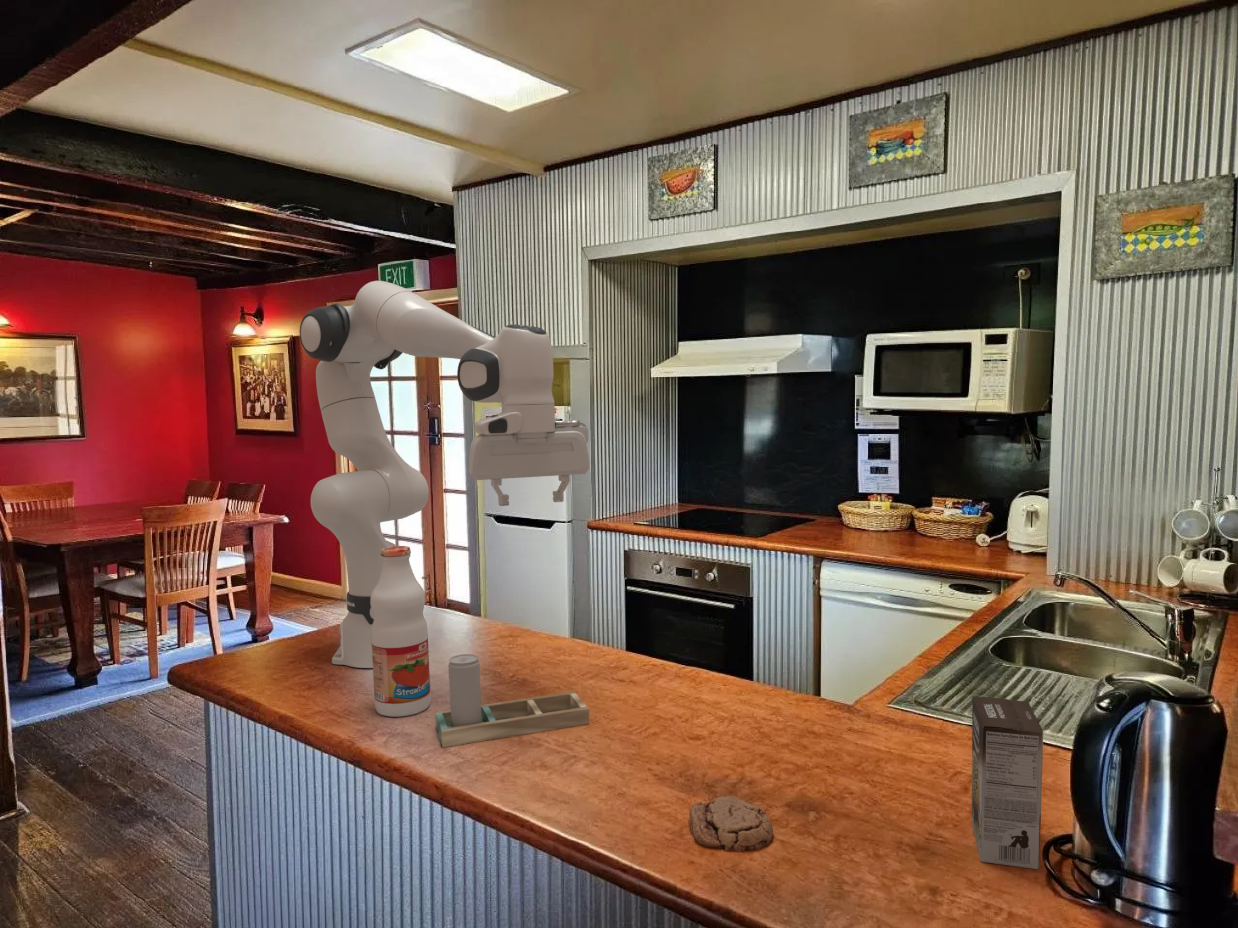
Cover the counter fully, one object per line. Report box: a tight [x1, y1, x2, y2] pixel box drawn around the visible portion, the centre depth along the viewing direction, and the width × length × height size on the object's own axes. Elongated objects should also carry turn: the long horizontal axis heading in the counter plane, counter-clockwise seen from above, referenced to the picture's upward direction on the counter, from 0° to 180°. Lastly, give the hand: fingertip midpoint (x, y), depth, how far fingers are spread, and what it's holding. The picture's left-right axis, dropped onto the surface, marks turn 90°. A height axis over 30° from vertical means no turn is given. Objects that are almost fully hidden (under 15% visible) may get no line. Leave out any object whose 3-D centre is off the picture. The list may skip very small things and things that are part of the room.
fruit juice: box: [370, 545, 432, 718], centre depth 143 cm, size 9×9×28 cm
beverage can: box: [448, 653, 482, 728], centre depth 132 cm, size 5×5×12 cm
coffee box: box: [971, 696, 1044, 870], centre depth 96 cm, size 9×6×16 cm
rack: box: [434, 691, 590, 748], centre depth 135 cm, size 8×24×2 cm, turn 109°
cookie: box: [688, 795, 774, 853], centre depth 102 cm, size 10×11×3 cm
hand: (531, 503), depth 141 cm, fingers open, 8 cm apart
